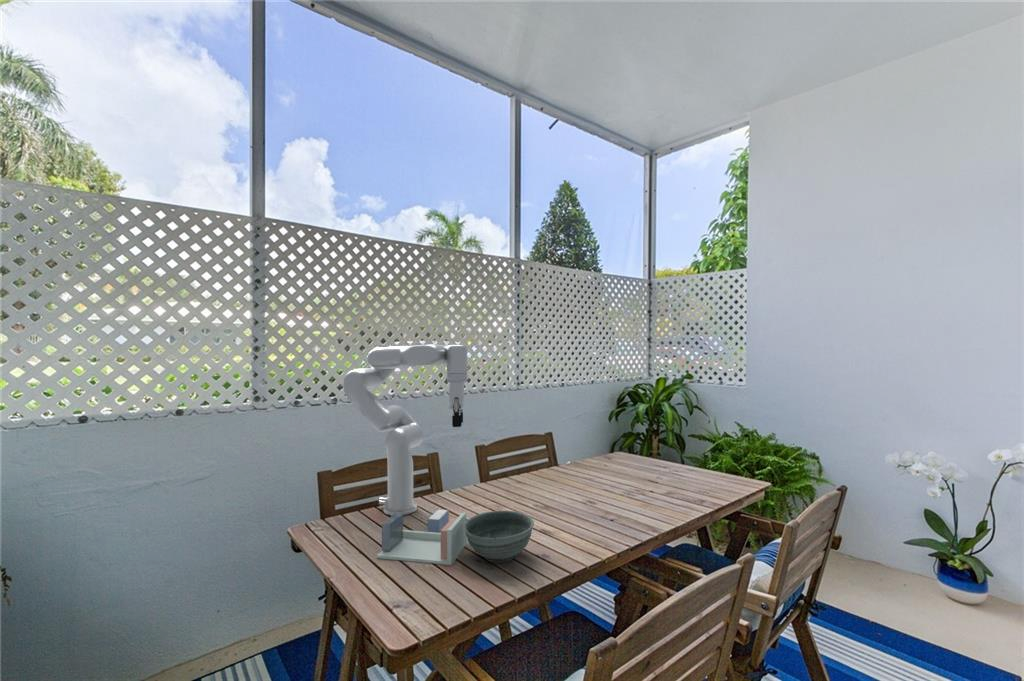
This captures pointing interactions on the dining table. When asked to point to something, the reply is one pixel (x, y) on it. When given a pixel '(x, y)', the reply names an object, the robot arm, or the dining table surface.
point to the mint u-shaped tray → (431, 544)
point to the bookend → (392, 531)
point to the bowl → (499, 534)
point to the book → (438, 521)
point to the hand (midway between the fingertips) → (457, 424)
